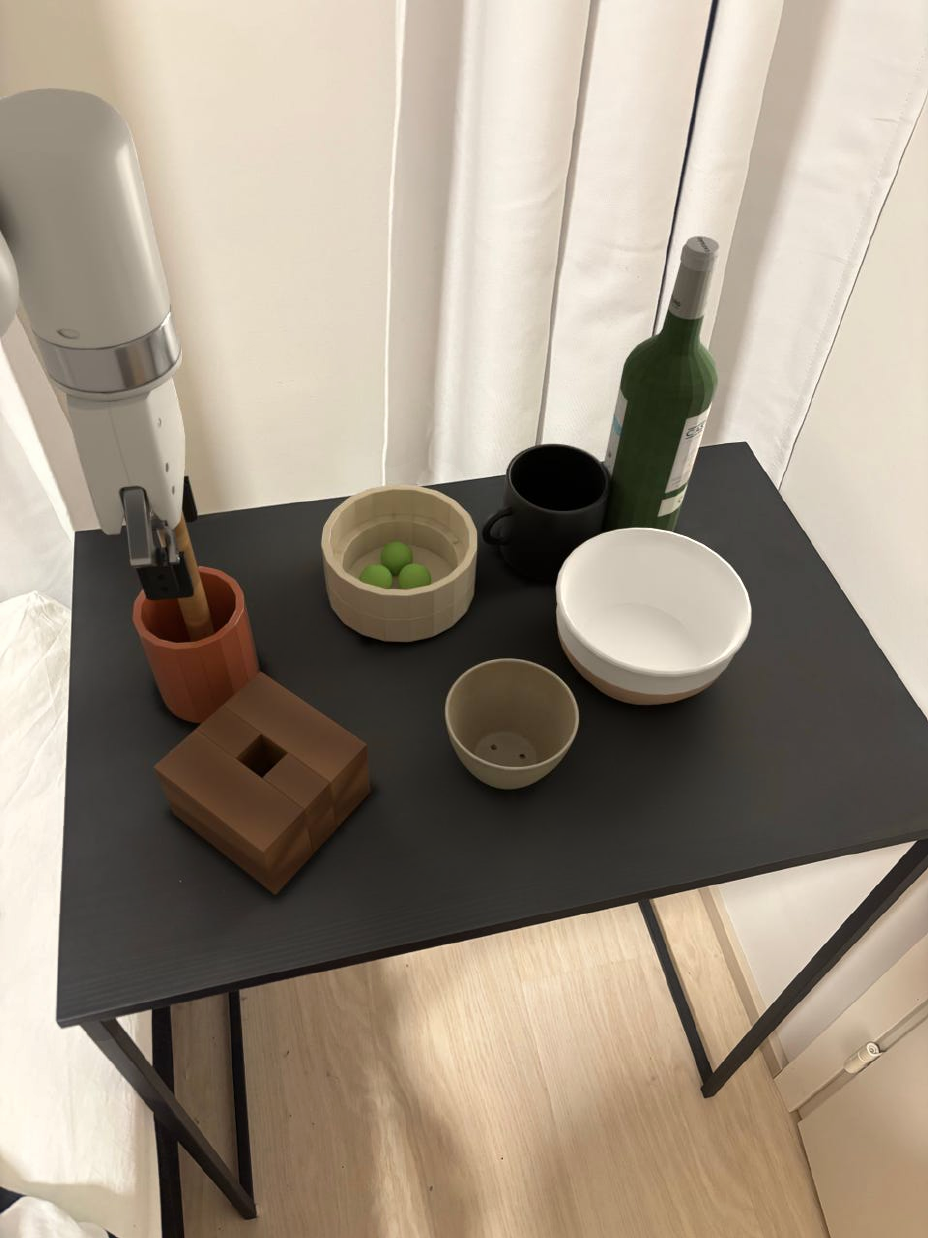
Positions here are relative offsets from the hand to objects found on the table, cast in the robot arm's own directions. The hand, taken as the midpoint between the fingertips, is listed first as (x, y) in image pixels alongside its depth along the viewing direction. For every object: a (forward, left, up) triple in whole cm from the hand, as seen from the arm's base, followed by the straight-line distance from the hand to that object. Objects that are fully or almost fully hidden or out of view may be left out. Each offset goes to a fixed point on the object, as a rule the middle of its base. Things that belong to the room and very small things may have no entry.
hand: (173, 555), depth 66 cm
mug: (+30, -13, -16) cm, 36 cm away
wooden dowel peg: (0, 0, -15) cm, 15 cm away
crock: (0, 0, -16) cm, 16 cm away
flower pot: (+9, -24, -16) cm, 30 cm away
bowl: (+25, -27, -16) cm, 40 cm away
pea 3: (+18, -8, -13) cm, 24 cm away
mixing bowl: (+18, -6, -16) cm, 25 cm away
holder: (-5, -12, -16) cm, 20 cm away
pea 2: (+19, -5, -13) cm, 24 cm away
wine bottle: (+38, -19, -16) cm, 45 cm away
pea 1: (+16, -5, -13) cm, 21 cm away
